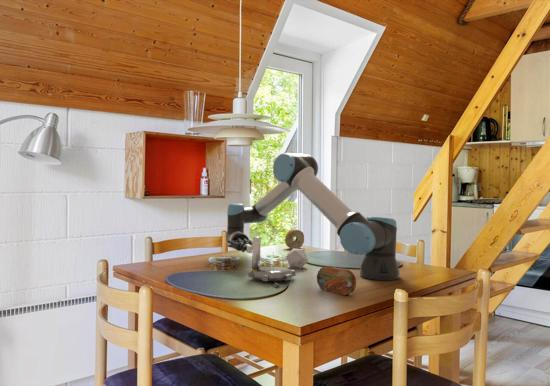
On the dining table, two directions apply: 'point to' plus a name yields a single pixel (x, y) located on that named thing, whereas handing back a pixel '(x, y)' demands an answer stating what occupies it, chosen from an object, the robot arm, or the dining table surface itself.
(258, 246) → the sprocket
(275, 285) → the timing pointer
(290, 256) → the die
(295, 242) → the stone disc
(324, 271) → the tin
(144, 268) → the dining table surface
